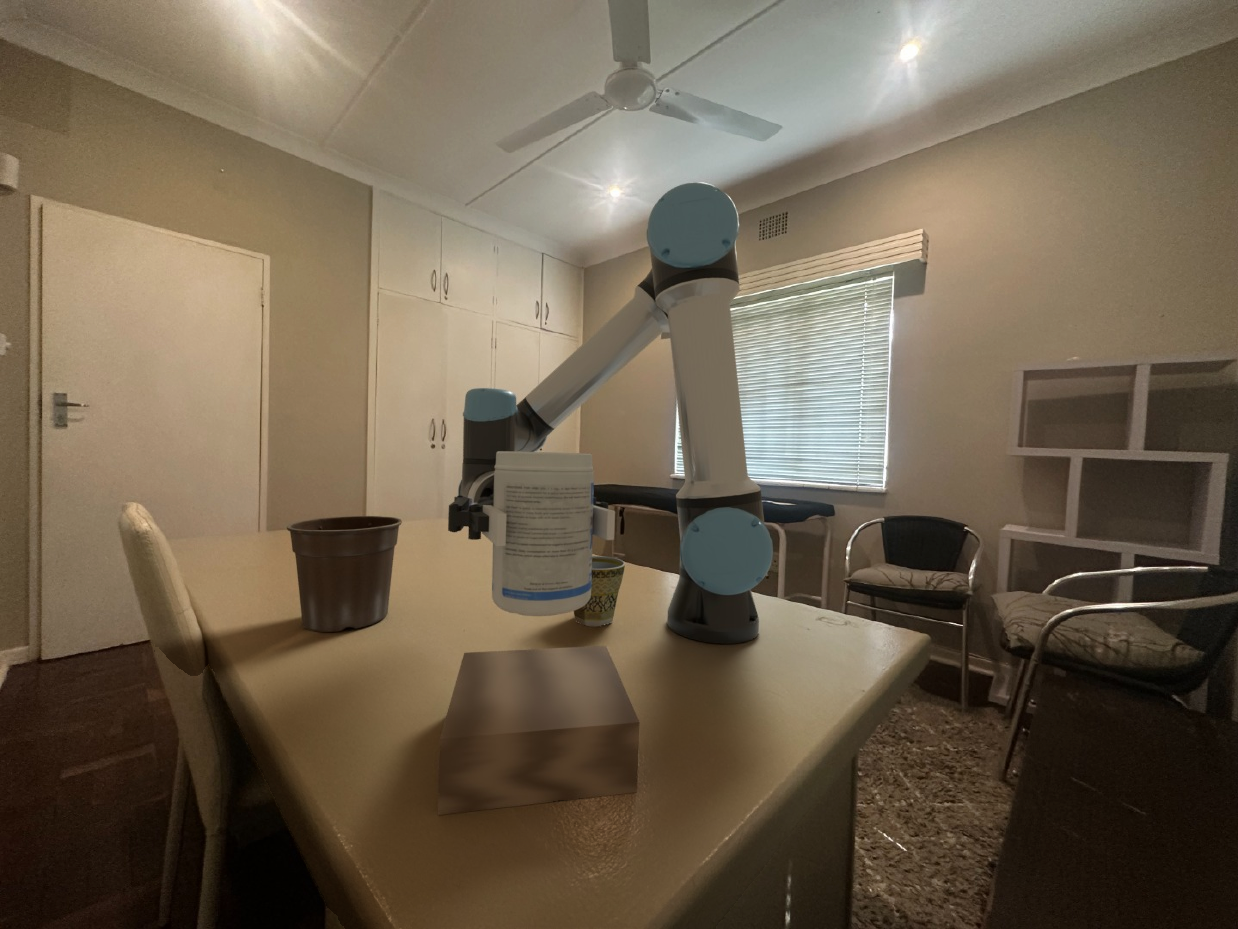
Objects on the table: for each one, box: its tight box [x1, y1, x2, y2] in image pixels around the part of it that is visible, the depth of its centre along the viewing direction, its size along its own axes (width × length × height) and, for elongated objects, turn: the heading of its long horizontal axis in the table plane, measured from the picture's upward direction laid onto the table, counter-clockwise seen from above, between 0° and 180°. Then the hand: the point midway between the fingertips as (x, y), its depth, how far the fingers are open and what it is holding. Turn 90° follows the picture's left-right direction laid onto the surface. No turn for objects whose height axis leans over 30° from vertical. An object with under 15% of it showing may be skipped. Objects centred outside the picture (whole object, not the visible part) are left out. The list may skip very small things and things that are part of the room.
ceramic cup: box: [573, 555, 626, 627], centre depth 82 cm, size 13×10×10 cm
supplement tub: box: [491, 451, 595, 617], centre depth 46 cm, size 10×10×15 cm
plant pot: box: [286, 515, 403, 633], centre depth 77 cm, size 16×16×16 cm
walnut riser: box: [437, 645, 640, 816], centre depth 46 cm, size 16×16×6 cm
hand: (559, 527), depth 42 cm, fingers closed on supplement tub, 9 cm apart
